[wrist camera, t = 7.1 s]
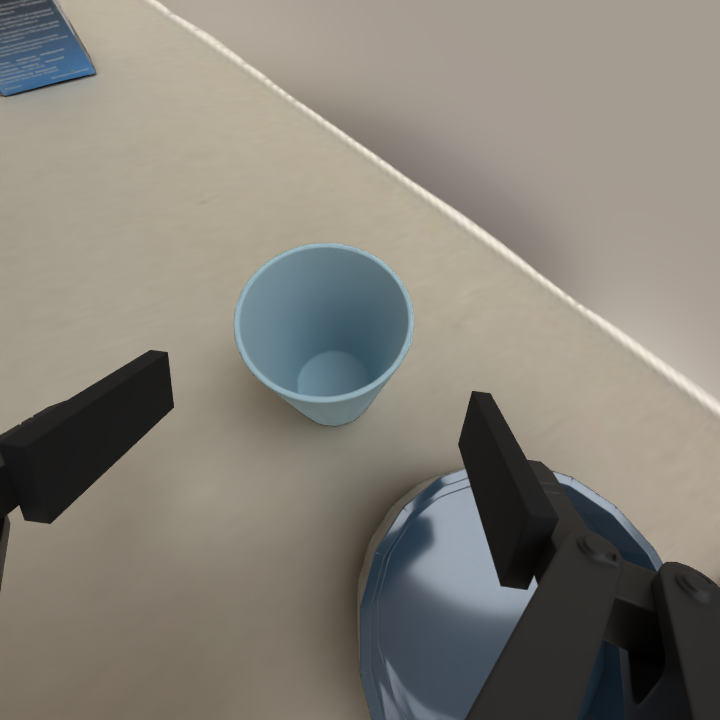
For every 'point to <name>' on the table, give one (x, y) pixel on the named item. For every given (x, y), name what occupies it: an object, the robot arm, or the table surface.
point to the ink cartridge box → (38, 46)
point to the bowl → (460, 603)
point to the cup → (324, 329)
